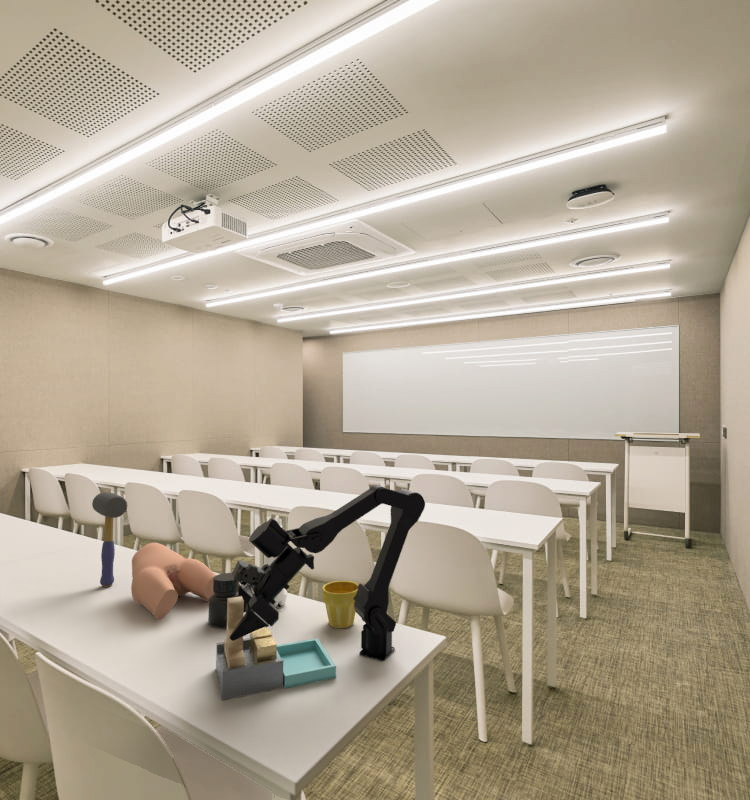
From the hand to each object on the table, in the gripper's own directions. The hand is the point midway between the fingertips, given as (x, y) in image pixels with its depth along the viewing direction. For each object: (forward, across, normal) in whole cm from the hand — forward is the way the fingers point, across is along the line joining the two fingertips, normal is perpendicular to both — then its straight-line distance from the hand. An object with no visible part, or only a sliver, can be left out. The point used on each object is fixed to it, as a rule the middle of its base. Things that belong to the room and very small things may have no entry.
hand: (228, 630), depth 102 cm
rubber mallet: (+29, -73, -13) cm, 79 cm away
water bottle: (-5, -38, +20) cm, 44 cm away
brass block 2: (0, +2, +10) cm, 10 cm away
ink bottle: (+6, -31, +10) cm, 33 cm away
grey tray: (+4, 0, +11) cm, 12 cm away
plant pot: (-15, -19, +30) cm, 38 cm away
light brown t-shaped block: (+4, 0, +6) cm, 7 cm away
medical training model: (+16, -52, 0) cm, 55 cm away
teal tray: (-4, 0, +19) cm, 19 cm away
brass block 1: (0, -2, +10) cm, 10 cm away
